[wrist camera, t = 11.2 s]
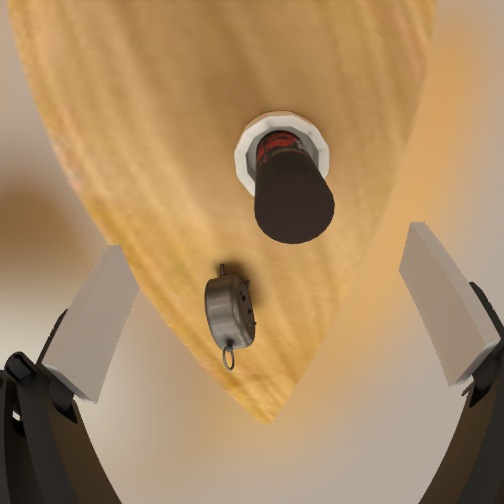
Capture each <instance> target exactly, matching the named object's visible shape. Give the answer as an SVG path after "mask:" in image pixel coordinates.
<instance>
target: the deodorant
mask: <svg viewBox="0 0 504 504" xmlns="http://www.w3.org/2000/svg"><path fill="white" fill-rule="evenodd" d="M334 206H335V204H334V199H333V195H332V193H331V191H330V189H329V187H328V186H327V184H326V182H325V180H324V178H323V177H322V175H321V173H320V171H319V170H318V168H317V166H316V165H315V163H314V161H313V159H312V158H311V156H310V154H309V153H308V151H307V149H306V148H305V146H304V144H303V143H302V141H301V140H300V138H299V137H298V136H296V135H295V134H294V133H292V132H290V131H286V130H274V131H271V132H269V133H267V134H266V135H264V136H263V137H262V138H261V139H260V141H259V143H258V145H257V149H256V167H255V203H254V209H255V218H256V220H257V223H258V225H259V227H260V228H261V229H262V231H263V232H264V233H265V234H266V235H268V236H269V237H270V238H272V239H274V240H276V241H278V242H281V243H287V244H300V243H304V242H307V241H310V240H312V239H314V238H316V237H318V236H319V235H320V234H321V233H322V232H324V231H325V230H326V228H327V227H328V225H329V224H330V223H331V220H332V218H333V215H334Z"/></svg>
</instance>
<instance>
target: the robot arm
mask: <svg viewBox="0 0 504 504" xmlns="http://www.w3.org/2000/svg"><path fill="white" fill-rule="evenodd" d="M399 272H400V274H401V276H402V278H403V280H404V282H405V284H406V285H407V288H408V290H409V292H410V294H411V296H412V298H413V300H414V302H415V304H416V306H417V308H418V310H419V313H420V315H421V317H422V319H423V322H424V324H425V326H426V328H427V331H428V333H429V335H430V338H431V340H432V343H433V345H434V348H435V350H436V353H437V355H438V358H439V360H440V363H441V366H442V369H443V371H444V374H445V377H446V379H447V383H448V386H449V388H451V387H454V386H457V385H460V384H462V383H465V382H466V380H467V379H468V378H469V377H470V376H471V375H472V376H473V379H474V381H473V382H472V383H471V384H470V385H469V386H468V387H467V388H466V389H465V390H464V391H463V393H462V396H464V395H465V394H466V393H467V392H468V391H469V393H468V396H467V397H466V398H467V399H466V402H465V405H464V408H463V412H462V414H461V417H460V420H459V422H458V425H457V428H456V430H455V433H454V435H453V438H452V440H451V442H450V445H449V447H448V450H447V451H446V454H445V456H444V458H443V460H442V462H441V464H440V466H439V468H438V470H437V472H436V474H435V476H434V478H433V480H432V482H431V483H430V485H429V487H428V489H427V490H426V492H425V494H424V495H423V497H422V499H421V501H420V502H419V504H504V327H503V325H502V323H501V321H500V319H499V318H498V316H497V314H496V312H495V311H494V310H493V309H492V308H493V307H492V306H491V304H490V302H488V299H487V297H486V296H485V294H484V293H483V291H482V290H481V289H480V288H479V287H478V286H477V285H476V284H475V283H474V282H469V283H468V281H467V280H466V278H465V277H464V275H463V274H462V273H461V271H460V269H459V268H458V267H457V265H456V263H455V262H454V261H453V259H452V258H451V256H450V255H449V254H448V252H447V251H446V250H445V248H444V247H443V246H442V244H441V243H440V242H439V240H438V239H437V238H436V236H435V235H434V234H433V233H432V231H431V230H430V229H429V228H428V226H427V225H426V224H425V223H424V222H414V223H410V227H409V231H408V236H407V240H406V244H405V248H404V252H403V256H402V260H401V264H400V268H399ZM138 290H139V286H138V284H137V282H136V280H135V278H134V275H133V273H132V271H131V269H130V267H129V264H128V262H127V260H126V258H125V255H124V253H123V251H122V248H121V246H120V245H111V246H107V247H106V249H105V250H104V251H103V253H102V254H101V256H100V257H99V259H98V260H97V262H96V264H95V265H94V267H93V268H92V270H91V271H90V273H89V275H88V276H87V278H86V280H85V281H84V283H83V284H82V286H81V288H80V290H79V291H78V293H77V295H76V297H75V298H74V300H73V302H72V304H71V305H70V307H69V309H66V310H65V311H64V312H63V313H62V314H61V316H60V317H59V318H58V320H57V322H56V324H55V325H54V329H53V330H52V331H51V333H50V337H48V339H47V341H46V343H45V345H44V347H43V349H42V352H41V354H40V356H39V358H38V360H37V362H36V364H34V363H33V362H32V361H31V360H30V359H29V358H28V357H27V356H26V355H25V354H24V353H23V352H16V353H14V354H12V355H11V356H10V357H9V358H8V360H7V361H6V364H5V366H4V370H0V504H122V503H121V501H120V500H119V498H118V496H117V494H116V493H115V491H114V489H113V487H112V485H111V483H110V482H109V480H108V478H107V476H106V474H105V472H104V470H103V468H102V466H101V464H100V462H99V459H98V457H97V455H96V453H95V450H94V448H93V446H92V443H91V441H90V439H89V436H88V434H87V431H86V429H85V426H84V423H83V420H82V418H81V415H80V412H79V409H78V406H77V404H76V402H75V400H73V397H74V394H75V395H77V396H78V397H79V398H80V399H81V400H83V401H86V402H90V403H94V404H97V402H98V399H99V395H100V392H101V389H102V386H103V382H104V380H105V376H106V374H107V371H108V368H109V365H110V362H111V359H112V356H113V354H114V351H115V348H116V345H117V343H118V340H119V337H120V335H121V332H122V329H123V327H124V324H125V322H126V319H127V317H128V314H129V312H130V309H131V307H132V304H133V302H134V299H135V297H136V295H137V292H138ZM13 411H14V412H15V413H17V414H18V415H19V416H20V420H19V421H18V420H16V419H15V418H13Z"/></svg>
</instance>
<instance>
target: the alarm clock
mask: <svg viewBox="0 0 504 504" xmlns="http://www.w3.org/2000/svg"><path fill="white" fill-rule="evenodd" d="M223 267H224V265H223V264H220V273H221V277H219V278H214V279H210V280H209V281H208V282H207V285H206V288H205V310H206V316H207V321H208V325H209V328H210V331H211V334H212V337H213V339H214V341H215V342H216V344H217V345H218V347H219V348H220V349H222V350H223V362H224V365H225V367H226V368H227V369H228V370H232V369H233V368H234V355H233V352H232V350H233V349H239V348H244V347H248V346H250V345H251V344H252V343H253V341H254V338H255V325H256V324H257V323H256V322H255V320H254V314H253V308H252V304H251V300H250V297H249V294H248V286H249V284H250V281H248V282H247V283H246V284H244V282H243V281H242V279H241V278H240V277H239V276H237V275H234V274H232V275H227V276H226V275H225V271H224V269H223ZM225 351H228V352H231V355H232V367H231V368H229V367H228V366H227V363H226V359H225Z"/></svg>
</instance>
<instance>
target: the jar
mask: <svg viewBox="0 0 504 504" xmlns="http://www.w3.org/2000/svg"><path fill="white" fill-rule="evenodd" d="M274 130H286V131H290V132H292V133H294V134H295V135H296V136H298V137H299V138H300V140H301V141H302V143H303V144H304V146H305V148H306V149H307V151H308V153H309V154H310V156H311V158H312V159H313V161H314V163H315V165H316V166H317V168H318V170H319V171H320V173H321V175H322V177H323V178H324V179H325V177H326V175H327V174H328V172H329V147H328V145H327V144H326V142H325V140H324V139H323V137H322V136H321V134H320V132H319V131H318V129H317V128H316V127H315V126H314V125H313V124H312V123H311V122H310V121H308V120H306V119H304V118H303V117H301V116H299V115H297V114H294V113H292V112H290V111H273V112H267V113H264V114H263V115H260V116H258V117H257V118H255V119H254V120H253V121H251V122H250V123H249V124H247V125H246V126H245V129H244V131H243V132H242V134H241V137H240V139H239V141H238V143H237V145H236V149H235V152H234V157H235V165H236V173H237V177H238V179H239V180H240V181H241V182H242V184H243V185H244V186H245V187H246V189H247V190H248V191H249V193H250V194H252V195H253V196H255V167H256V149H257V145H258V143H259V141H260V139H261V138H262V137H263V136H264V135H266V134H267V133H269V132H271V131H274Z"/></svg>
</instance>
